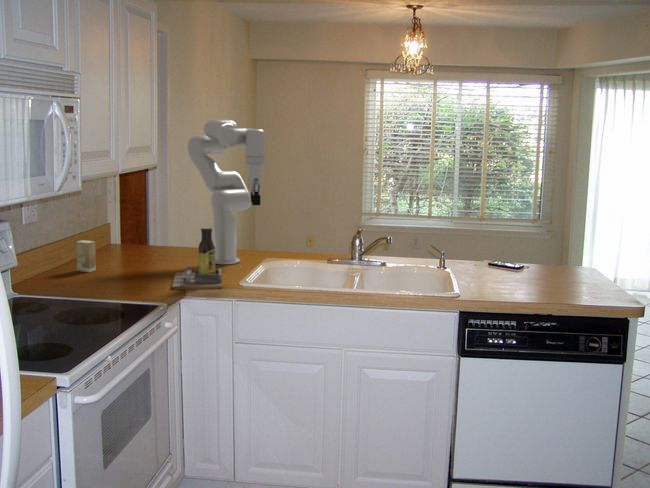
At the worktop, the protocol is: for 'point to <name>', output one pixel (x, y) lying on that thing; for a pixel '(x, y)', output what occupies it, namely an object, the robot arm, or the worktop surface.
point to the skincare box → (86, 256)
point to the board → (198, 280)
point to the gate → (188, 274)
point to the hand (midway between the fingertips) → (255, 203)
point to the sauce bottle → (206, 253)
